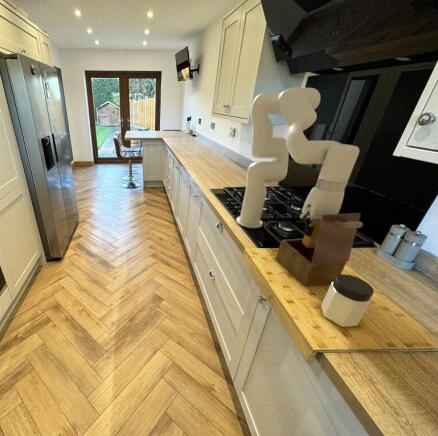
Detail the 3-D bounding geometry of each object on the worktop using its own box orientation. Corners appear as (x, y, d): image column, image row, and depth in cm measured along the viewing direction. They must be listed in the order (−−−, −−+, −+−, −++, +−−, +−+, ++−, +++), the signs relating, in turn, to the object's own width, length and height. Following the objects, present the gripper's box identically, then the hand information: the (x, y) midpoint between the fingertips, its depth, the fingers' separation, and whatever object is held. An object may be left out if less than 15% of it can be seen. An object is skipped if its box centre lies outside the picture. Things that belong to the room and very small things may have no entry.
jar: (340, 303, 73) (356, 272, 67) (364, 326, 65) (384, 293, 60) (313, 305, 72) (327, 274, 67) (335, 328, 65) (352, 295, 59)
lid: (321, 214, 71) (337, 219, 66) (358, 212, 73) (376, 217, 68) (311, 263, 76) (325, 271, 71) (346, 260, 78) (361, 268, 73)
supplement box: (316, 248, 83) (325, 223, 79) (306, 248, 83) (315, 223, 79) (310, 243, 86) (319, 218, 82) (301, 243, 86) (309, 218, 82)
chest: (275, 258, 94) (281, 239, 90) (304, 256, 95) (311, 238, 91) (303, 285, 80) (312, 264, 76) (336, 282, 81) (346, 262, 77)
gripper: (343, 180, 79) (324, 228, 87) (298, 182, 77) (283, 230, 85) (364, 187, 73) (342, 238, 81) (316, 189, 71) (298, 241, 79)
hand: (312, 234), depth 83 cm, fingers closed on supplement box, 3 cm apart
